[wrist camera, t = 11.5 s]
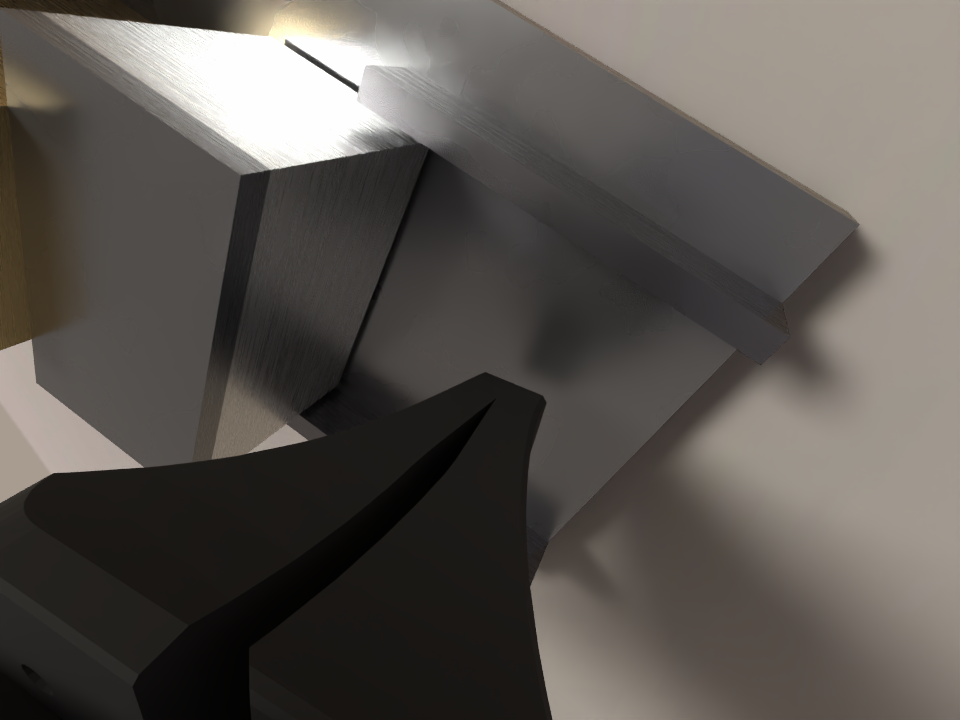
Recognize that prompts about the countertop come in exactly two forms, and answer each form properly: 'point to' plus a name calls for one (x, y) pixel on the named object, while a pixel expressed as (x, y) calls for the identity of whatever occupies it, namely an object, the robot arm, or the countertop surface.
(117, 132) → the block
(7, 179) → the housing
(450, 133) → the press bed
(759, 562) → the countertop surface
